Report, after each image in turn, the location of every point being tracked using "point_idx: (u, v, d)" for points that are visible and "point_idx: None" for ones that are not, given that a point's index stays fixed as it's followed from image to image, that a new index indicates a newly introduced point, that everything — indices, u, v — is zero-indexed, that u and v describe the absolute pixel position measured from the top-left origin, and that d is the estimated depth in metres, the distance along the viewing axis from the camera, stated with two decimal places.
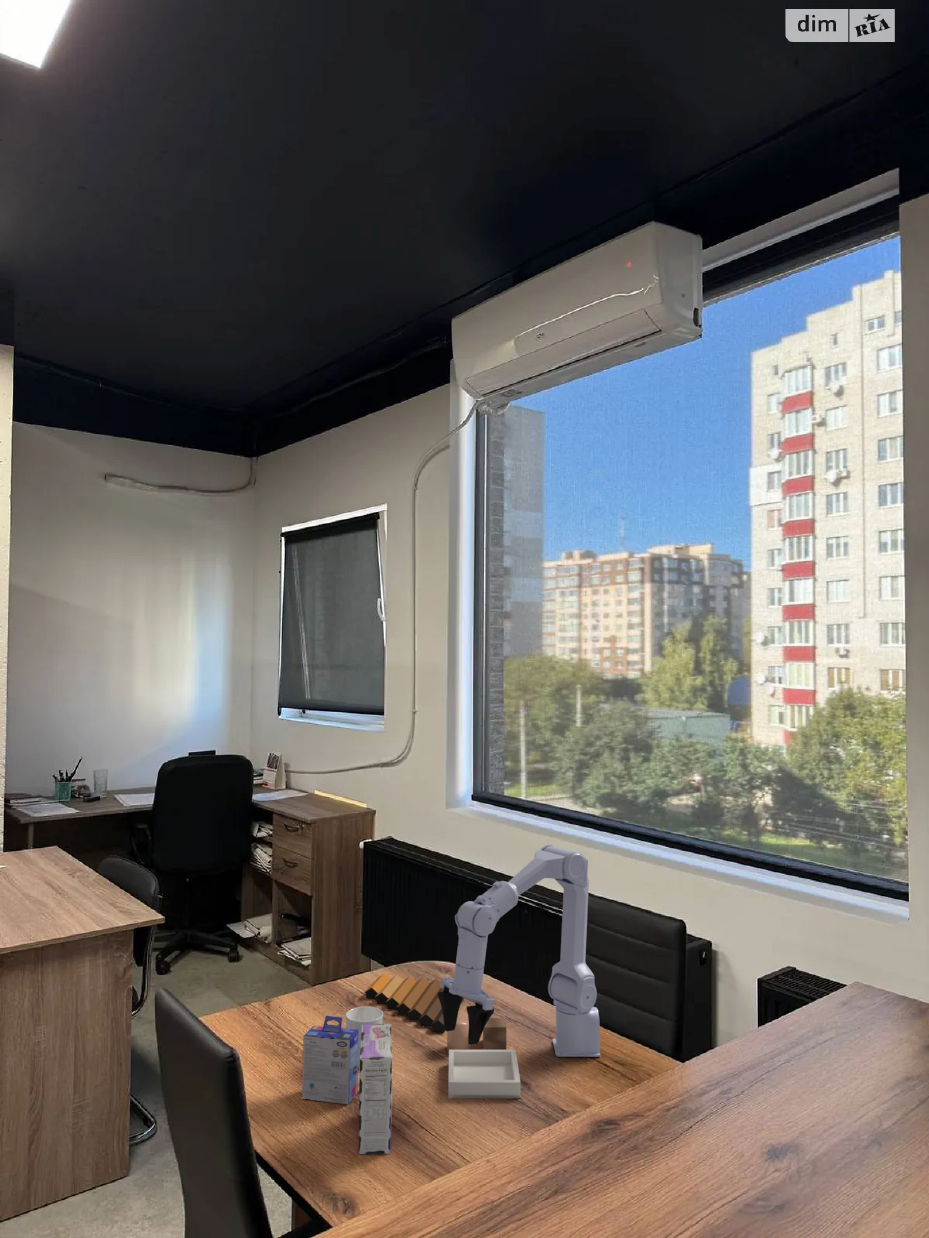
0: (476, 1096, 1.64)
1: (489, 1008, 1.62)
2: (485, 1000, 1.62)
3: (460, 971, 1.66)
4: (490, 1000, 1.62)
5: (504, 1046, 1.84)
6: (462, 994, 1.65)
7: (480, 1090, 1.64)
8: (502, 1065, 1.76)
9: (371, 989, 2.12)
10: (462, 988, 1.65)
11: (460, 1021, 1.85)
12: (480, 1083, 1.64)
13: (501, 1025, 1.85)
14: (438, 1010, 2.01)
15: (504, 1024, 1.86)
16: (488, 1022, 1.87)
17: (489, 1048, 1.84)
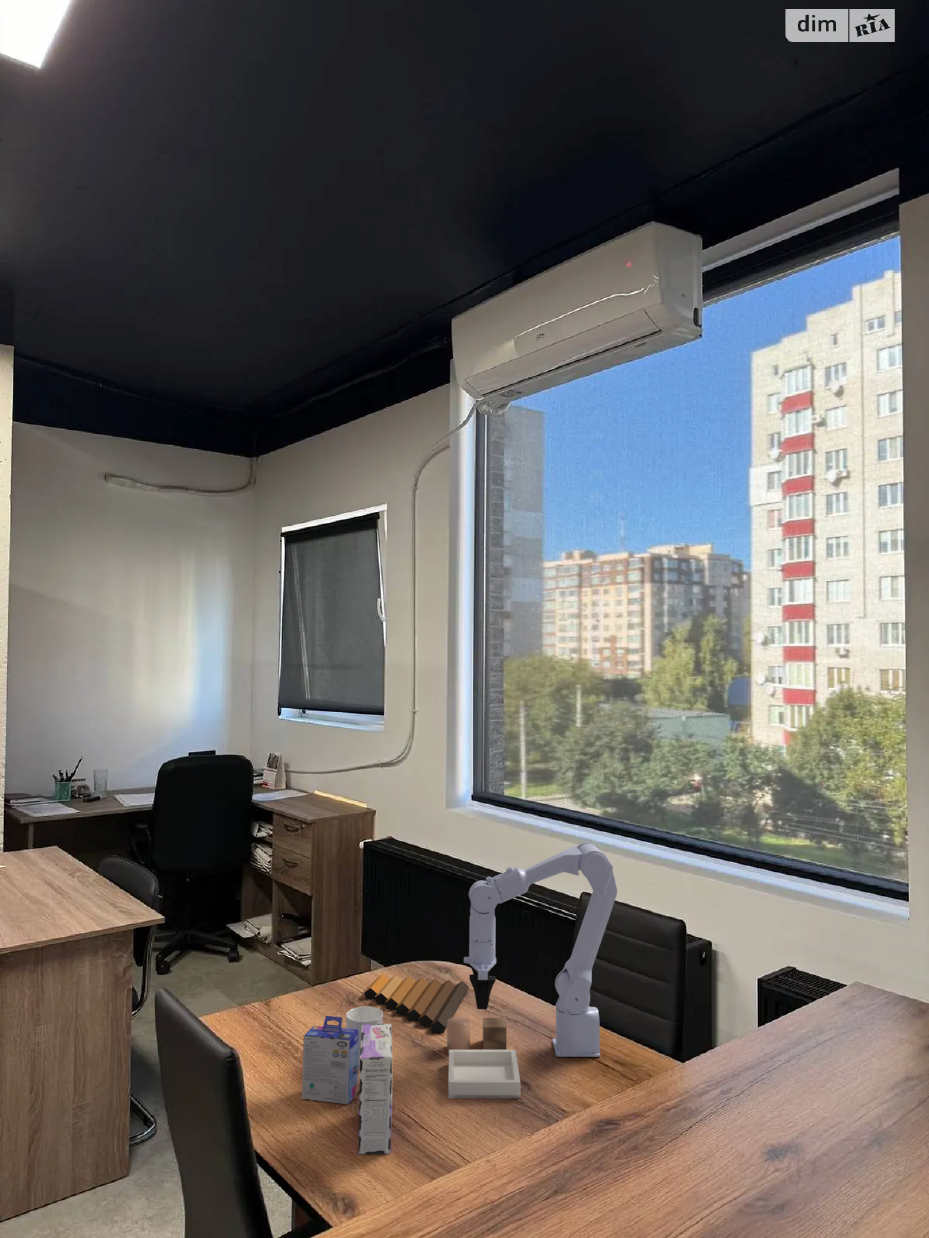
0: (476, 1096, 1.64)
1: (482, 978, 1.77)
2: (478, 970, 1.78)
3: (469, 942, 1.84)
4: (482, 971, 1.78)
5: (504, 1046, 1.84)
6: (470, 963, 1.83)
7: (480, 1090, 1.64)
8: (502, 1065, 1.76)
9: (370, 989, 2.12)
10: (471, 958, 1.83)
11: (460, 1021, 1.85)
12: (480, 1083, 1.64)
13: (501, 1025, 1.85)
14: (437, 1010, 2.01)
15: (504, 1024, 1.86)
16: (488, 1022, 1.87)
17: (489, 1048, 1.84)
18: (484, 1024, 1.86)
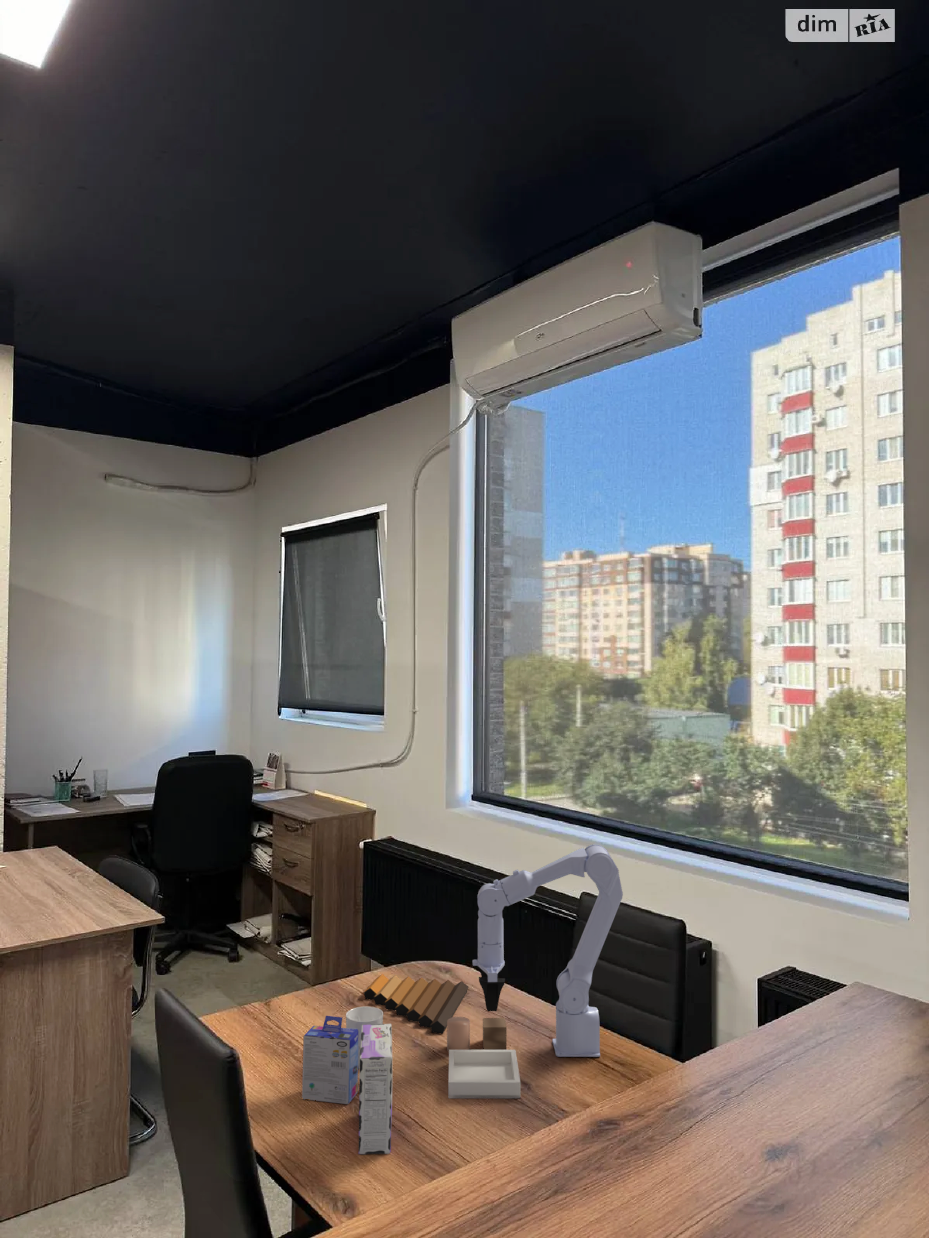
0: (476, 1096, 1.64)
1: (492, 980, 1.79)
2: (487, 973, 1.79)
3: (478, 945, 1.86)
4: (492, 973, 1.79)
5: (504, 1046, 1.84)
6: (479, 966, 1.84)
7: (480, 1090, 1.64)
8: (502, 1065, 1.76)
9: (370, 990, 2.12)
10: (480, 960, 1.85)
11: (460, 1021, 1.85)
12: (480, 1083, 1.64)
13: (501, 1025, 1.85)
14: (437, 1010, 2.01)
15: (504, 1024, 1.86)
16: (488, 1022, 1.87)
17: (489, 1048, 1.84)
18: (484, 1024, 1.86)
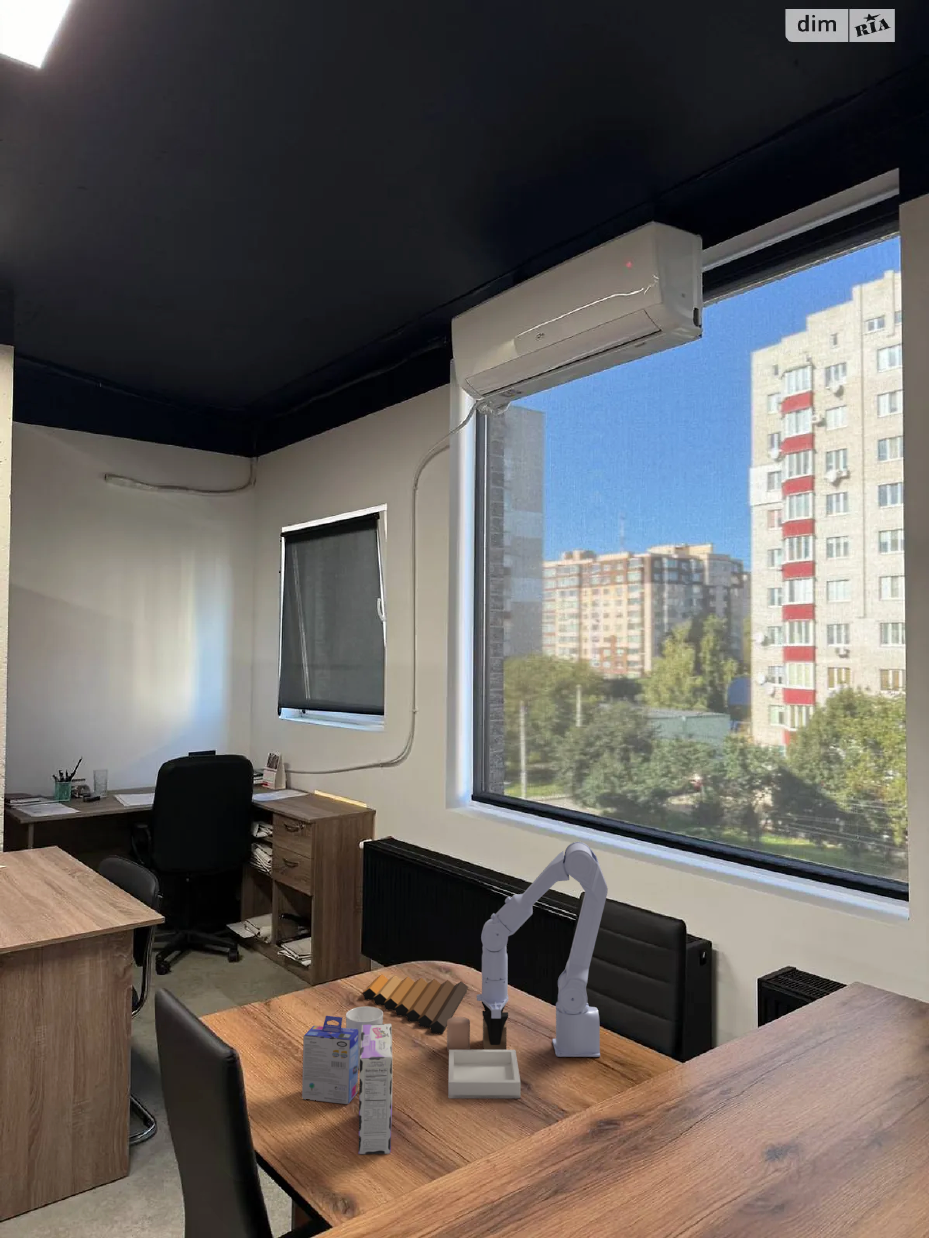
0: (476, 1096, 1.64)
1: (495, 1017, 1.80)
2: (491, 1009, 1.80)
3: (482, 980, 1.87)
4: (496, 1010, 1.80)
5: (504, 1046, 1.84)
6: (483, 1001, 1.85)
7: (480, 1090, 1.64)
8: (502, 1065, 1.76)
9: (369, 990, 2.12)
10: (483, 996, 1.86)
11: (460, 1021, 1.85)
12: (480, 1083, 1.64)
13: None
14: (437, 1010, 2.01)
15: None
16: None
17: (489, 1048, 1.84)
18: (484, 1024, 1.86)
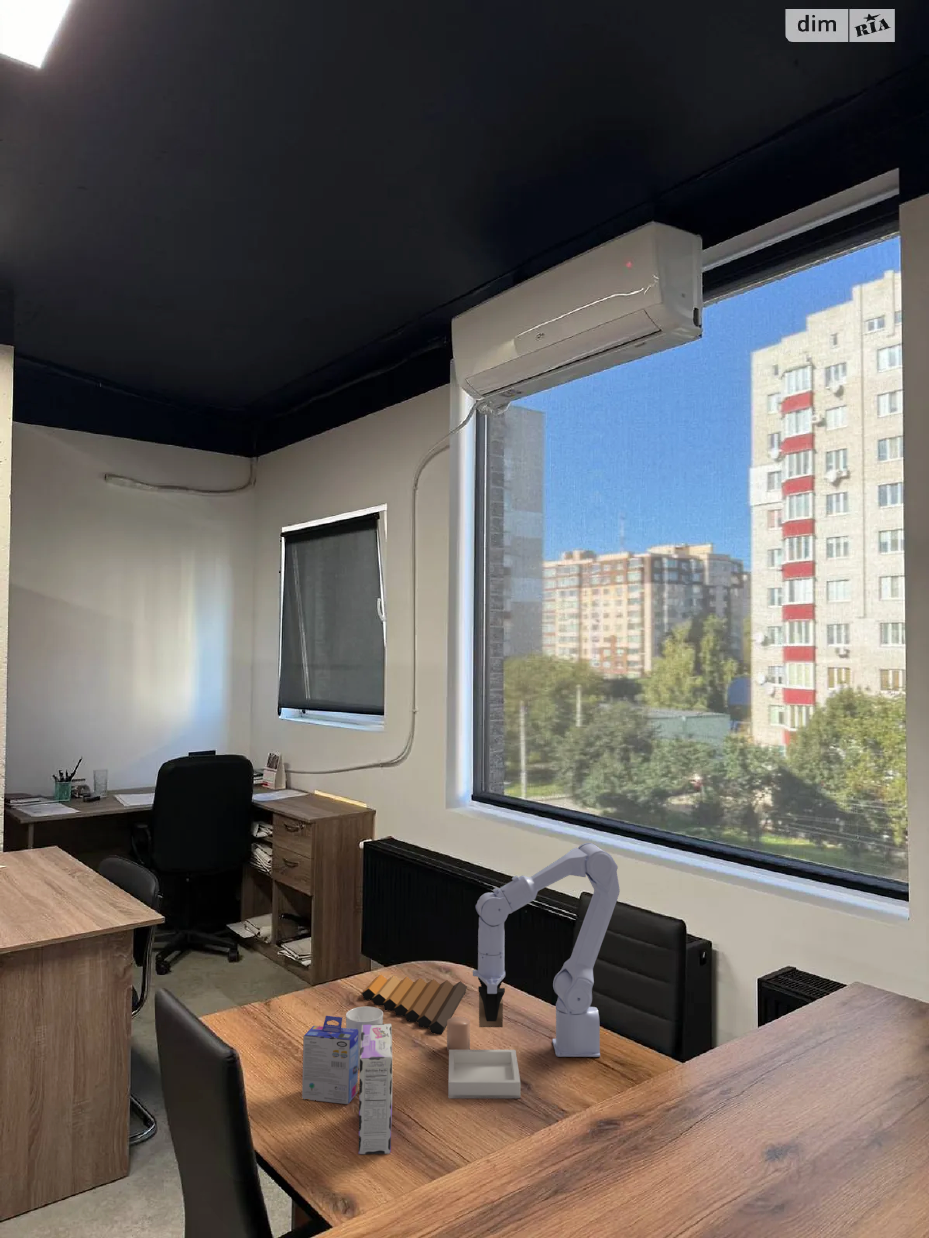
0: (476, 1096, 1.64)
1: (491, 992, 1.75)
2: (487, 984, 1.76)
3: (478, 955, 1.82)
4: (492, 985, 1.75)
5: (500, 1022, 1.80)
6: (479, 976, 1.81)
7: (480, 1090, 1.64)
8: (502, 1065, 1.76)
9: (368, 990, 2.12)
10: (480, 971, 1.81)
11: (460, 1021, 1.85)
12: (480, 1083, 1.64)
13: None
14: (436, 1011, 2.01)
15: None
16: None
17: (485, 1024, 1.80)
18: (480, 1000, 1.81)
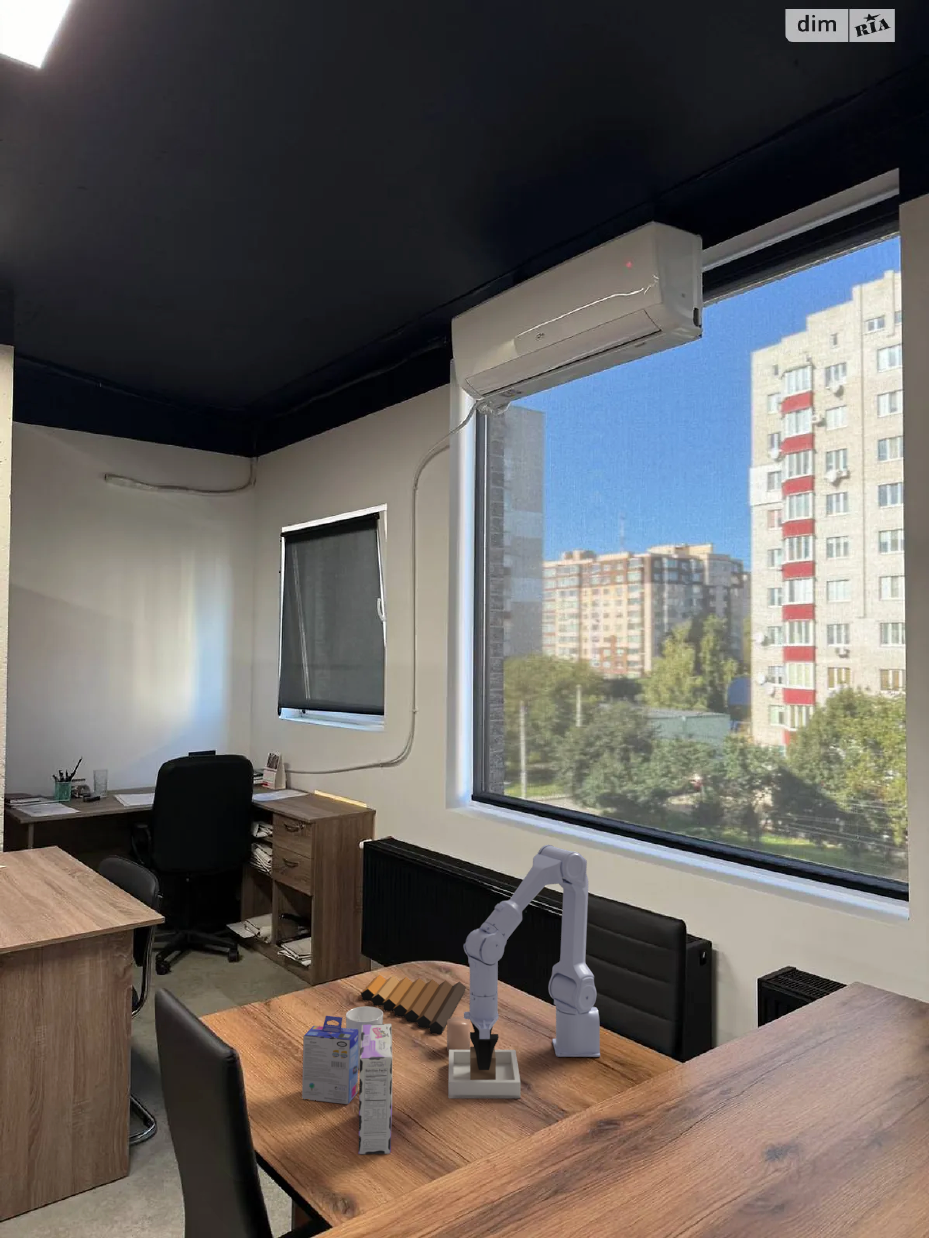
0: (476, 1096, 1.64)
1: (484, 1037, 1.64)
2: (479, 1029, 1.64)
3: (470, 996, 1.71)
4: (484, 1029, 1.64)
5: (493, 1078, 1.68)
6: (470, 1019, 1.69)
7: (480, 1090, 1.64)
8: (502, 1065, 1.76)
9: (367, 990, 2.11)
10: (471, 1013, 1.70)
11: (460, 1021, 1.85)
12: (480, 1083, 1.64)
13: None
14: (435, 1011, 2.00)
15: (493, 1054, 1.70)
16: None
17: None
18: (471, 1054, 1.70)
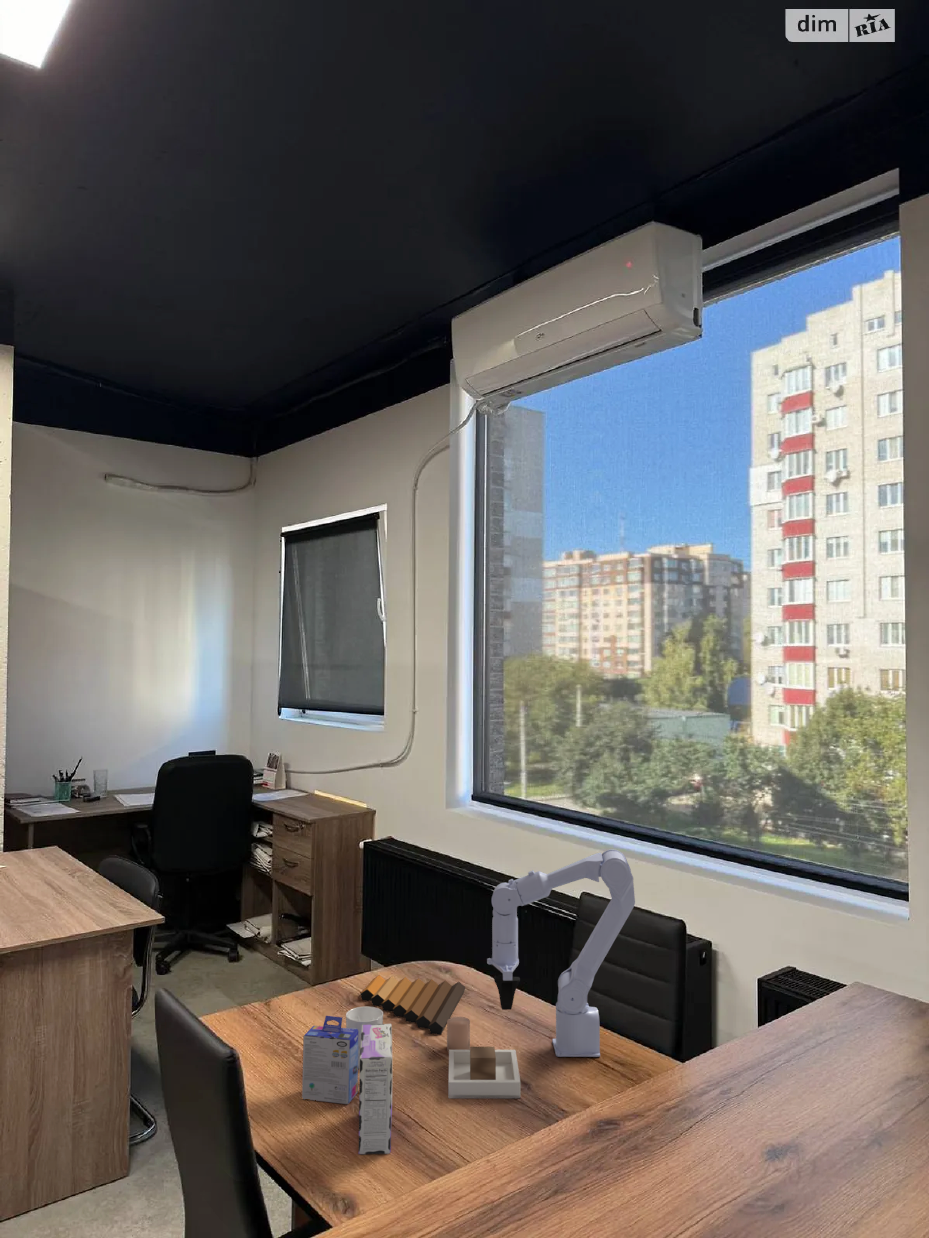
0: (476, 1096, 1.64)
1: (507, 979, 1.80)
2: (503, 971, 1.81)
3: (493, 944, 1.87)
4: (507, 972, 1.80)
5: (493, 1078, 1.68)
6: (494, 964, 1.86)
7: (480, 1090, 1.64)
8: (502, 1065, 1.76)
9: (367, 991, 2.11)
10: (494, 959, 1.86)
11: (460, 1021, 1.85)
12: (480, 1083, 1.64)
13: (490, 1055, 1.69)
14: (435, 1011, 2.00)
15: (493, 1054, 1.70)
16: (476, 1052, 1.71)
17: None
18: (471, 1054, 1.70)
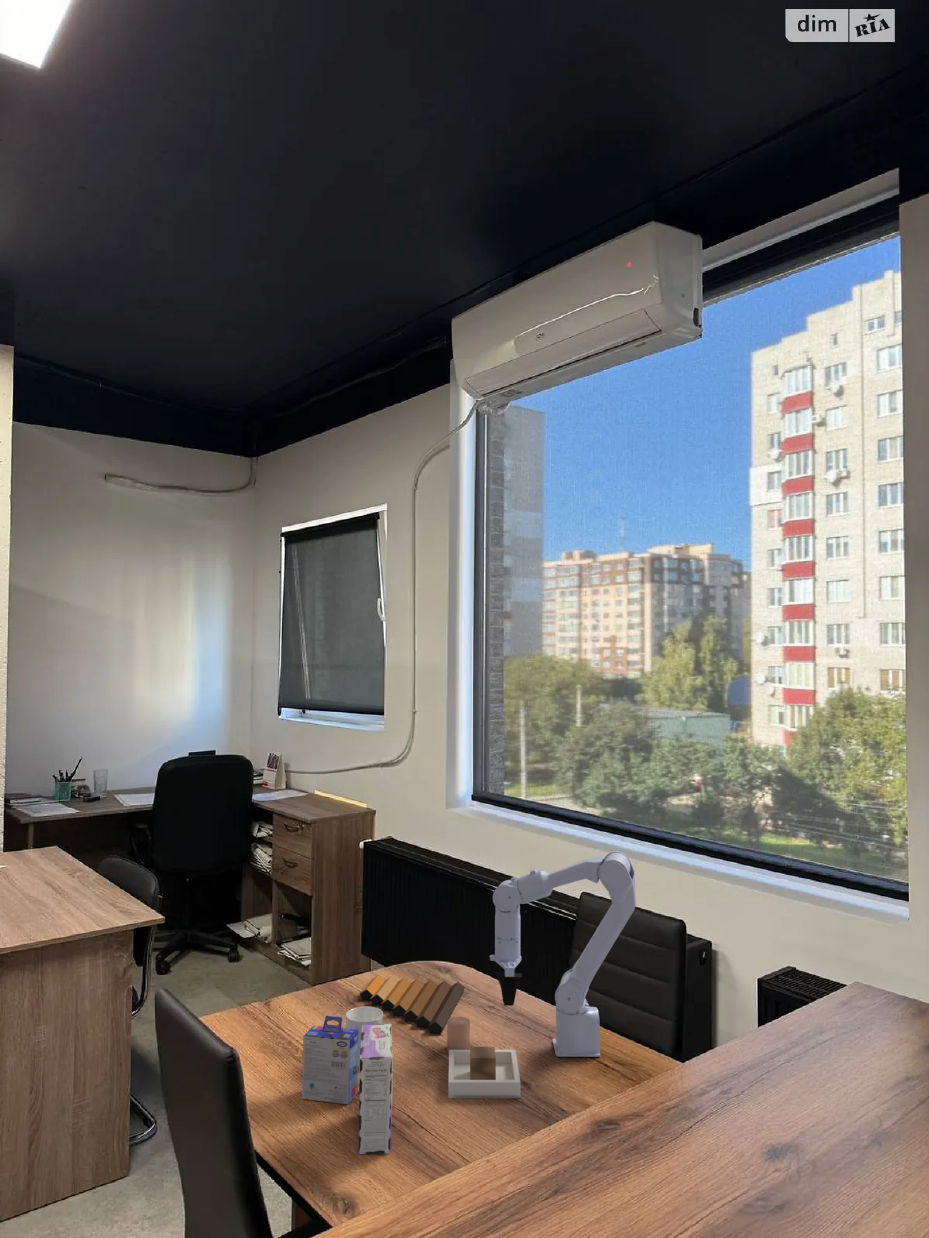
0: (476, 1096, 1.64)
1: (509, 975, 1.82)
2: (505, 968, 1.83)
3: (495, 940, 1.89)
4: (509, 968, 1.82)
5: (493, 1078, 1.68)
6: (496, 961, 1.88)
7: (480, 1090, 1.64)
8: (502, 1065, 1.76)
9: (366, 991, 2.11)
10: (497, 956, 1.88)
11: (460, 1021, 1.85)
12: (480, 1083, 1.64)
13: (490, 1055, 1.69)
14: (434, 1011, 2.00)
15: (493, 1054, 1.70)
16: (476, 1052, 1.71)
17: None
18: (471, 1054, 1.70)
